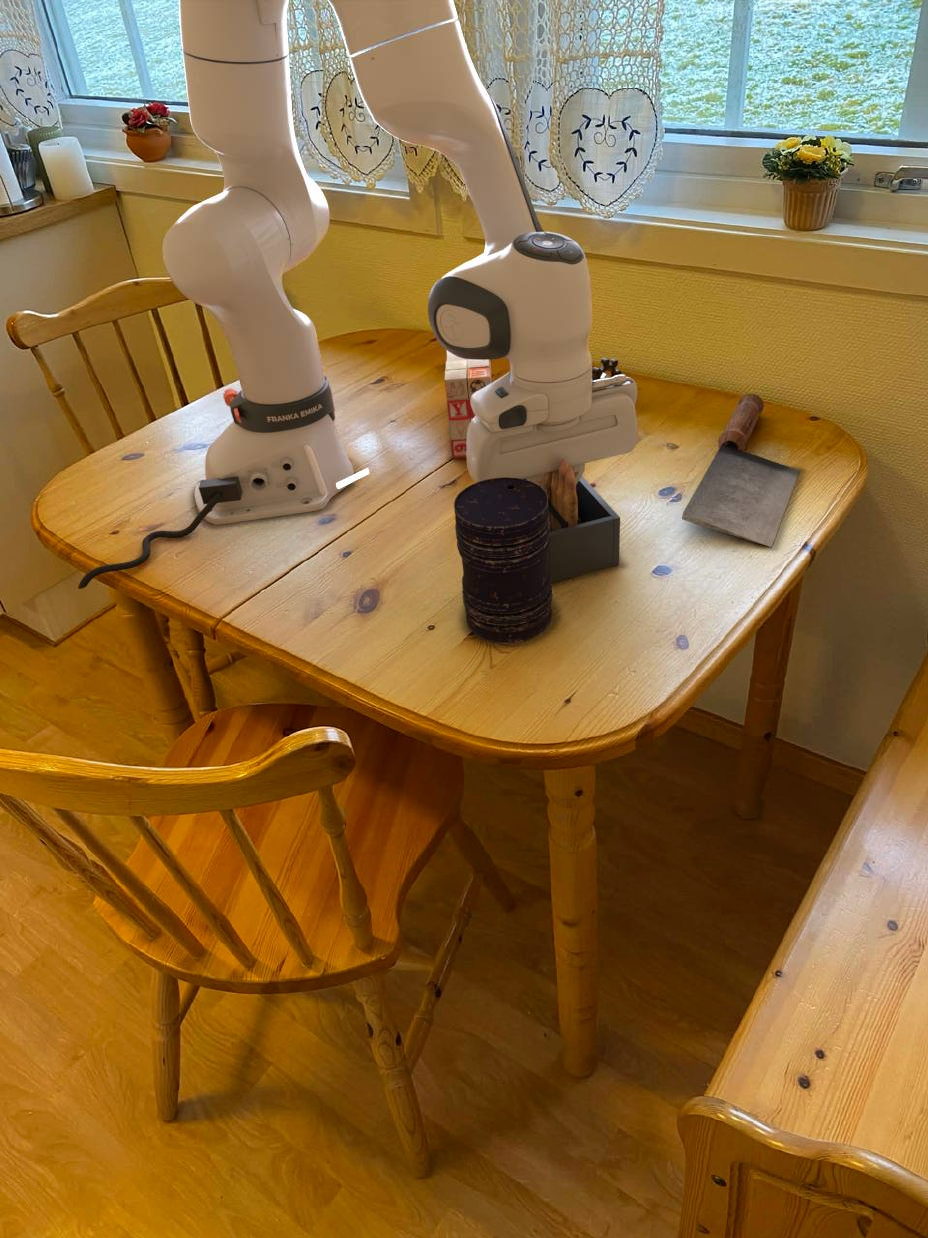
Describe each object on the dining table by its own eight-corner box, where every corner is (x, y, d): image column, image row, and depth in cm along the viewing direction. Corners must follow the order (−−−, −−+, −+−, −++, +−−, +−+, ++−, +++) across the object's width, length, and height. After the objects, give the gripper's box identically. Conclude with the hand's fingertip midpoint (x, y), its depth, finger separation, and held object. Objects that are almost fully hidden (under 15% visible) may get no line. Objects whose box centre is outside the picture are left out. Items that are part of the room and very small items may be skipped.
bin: (544, 585, 107) (542, 538, 103) (497, 519, 119) (494, 474, 115) (619, 564, 109) (620, 517, 105) (566, 502, 121) (565, 457, 117)
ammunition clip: (533, 516, 117) (529, 430, 110) (546, 512, 118) (544, 427, 110) (567, 560, 109) (565, 471, 102) (581, 556, 110) (581, 467, 102)
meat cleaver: (772, 547, 109) (777, 518, 107) (678, 531, 114) (680, 503, 111) (817, 423, 133) (821, 396, 130) (737, 413, 137) (740, 388, 134)
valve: (536, 387, 149) (593, 407, 142) (535, 347, 145) (593, 366, 138) (564, 373, 152) (621, 392, 145) (564, 334, 148) (622, 352, 141)
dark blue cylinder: (535, 652, 98) (530, 534, 89) (451, 635, 102) (437, 520, 92) (564, 597, 105) (562, 483, 96) (484, 583, 109) (474, 471, 99)
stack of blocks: (454, 394, 150) (447, 319, 142) (493, 391, 149) (488, 316, 142) (452, 459, 133) (443, 378, 125) (495, 456, 132) (489, 374, 125)
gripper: (624, 360, 106) (622, 467, 115) (456, 399, 102) (466, 506, 111) (650, 381, 102) (645, 490, 110) (475, 422, 97) (484, 532, 106)
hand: (554, 498), depth 110 cm, fingers closed on ammunition clip, 2 cm apart
